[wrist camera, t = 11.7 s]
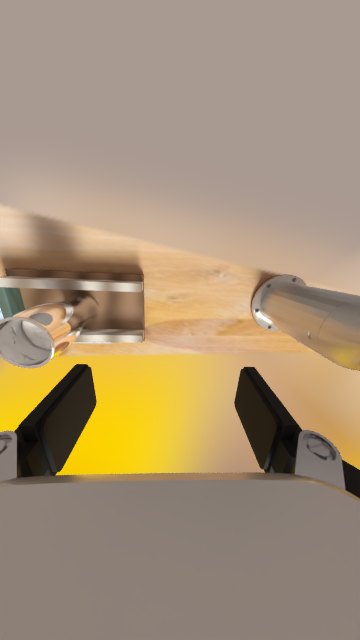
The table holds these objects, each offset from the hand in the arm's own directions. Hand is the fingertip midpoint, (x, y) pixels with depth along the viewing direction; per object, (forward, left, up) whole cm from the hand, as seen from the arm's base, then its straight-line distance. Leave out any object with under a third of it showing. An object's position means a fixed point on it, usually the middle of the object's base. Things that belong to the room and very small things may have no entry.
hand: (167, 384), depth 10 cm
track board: (+10, +14, -26) cm, 31 cm away
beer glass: (+10, +13, -25) cm, 30 cm away
